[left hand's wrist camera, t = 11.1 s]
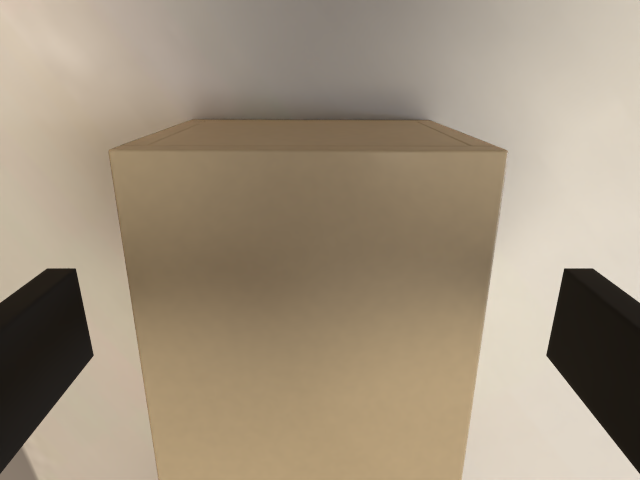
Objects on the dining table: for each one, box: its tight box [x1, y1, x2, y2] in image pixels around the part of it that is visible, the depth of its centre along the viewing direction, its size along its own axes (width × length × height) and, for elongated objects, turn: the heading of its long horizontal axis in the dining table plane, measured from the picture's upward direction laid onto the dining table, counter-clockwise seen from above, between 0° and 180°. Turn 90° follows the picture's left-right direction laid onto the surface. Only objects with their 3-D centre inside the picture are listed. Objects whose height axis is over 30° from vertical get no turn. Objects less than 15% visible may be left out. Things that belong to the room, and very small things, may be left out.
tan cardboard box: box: [109, 120, 508, 480], centre depth 20 cm, size 17×11×9 cm, turn 0°
